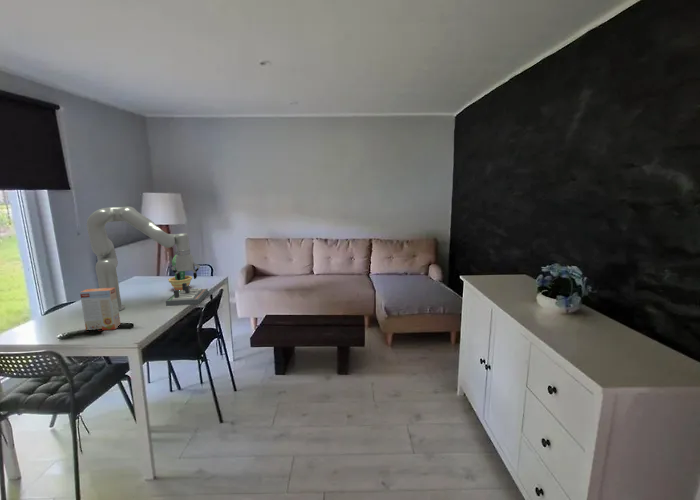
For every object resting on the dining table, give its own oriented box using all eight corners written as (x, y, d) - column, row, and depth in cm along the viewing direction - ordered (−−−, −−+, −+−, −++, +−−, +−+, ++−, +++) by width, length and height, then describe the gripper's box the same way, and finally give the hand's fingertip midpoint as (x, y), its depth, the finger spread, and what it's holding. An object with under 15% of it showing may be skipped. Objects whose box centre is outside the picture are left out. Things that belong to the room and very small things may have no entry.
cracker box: (121, 325, 185) (116, 286, 181) (115, 330, 179) (109, 290, 175) (92, 327, 184) (86, 288, 180) (85, 331, 178) (79, 291, 174)
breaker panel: (198, 303, 217) (197, 290, 216) (166, 306, 215) (164, 292, 213) (208, 293, 240) (206, 281, 238) (178, 294, 237) (177, 282, 236)
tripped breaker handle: (188, 292, 226) (188, 286, 225) (185, 293, 225) (184, 287, 225) (189, 291, 228) (189, 285, 227) (186, 292, 228) (185, 286, 227)
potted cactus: (184, 292, 242) (181, 256, 238) (164, 291, 245) (160, 256, 240) (197, 286, 257) (194, 252, 253) (178, 285, 260) (174, 252, 255)
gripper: (167, 255, 217) (170, 281, 220) (196, 253, 220) (199, 279, 223) (171, 252, 225) (174, 278, 228) (199, 250, 227) (202, 276, 230)
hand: (187, 279), depth 225 cm, fingers open, 9 cm apart
